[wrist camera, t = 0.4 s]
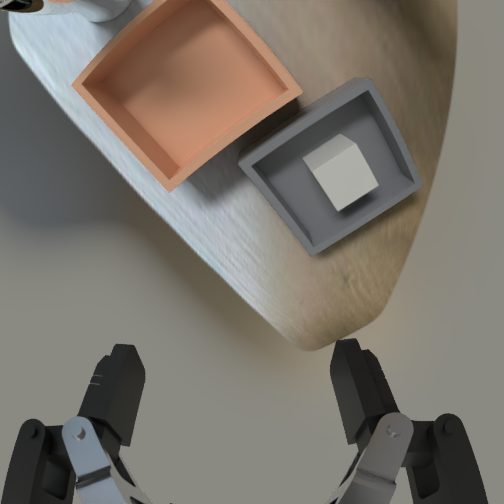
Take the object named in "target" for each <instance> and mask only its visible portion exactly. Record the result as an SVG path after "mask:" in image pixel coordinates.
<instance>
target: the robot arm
mask: <svg viewBox="0 0 504 504" xmlns="http://www.w3.org/2000/svg"><path fill="white" fill-rule="evenodd" d="M381 369H382V368H381V366H380V363H379V361H378V359H377V357H375V355H374V354H373V353H372V352H370V350H368V349H367V350H361V348H360V345H359V343H358V341H357V339H356V338H352V339H344V340H337V341H336V344H335V348H334V352H333V356H332V360H331V364H330V376H331V380H332V384H333V387H334V391H335V395H336V398H337V402H338V406H339V410H340V414H341V417H342V421H343V426H344V430H345V434H346V438H347V442H348V445H349V444H354V443H357V446H358V451H357V453H356V455H355V457H354V459H353V461H352V462H351V464H350V466H349V468H348V470H347V471H346V473H345V475H344V477H343V478H342V480H341V482H340V483H339V485H338V486H337V488H336V490H335V491H334V492H333V493H332V495H331V496H330V498H329V499H328V500H327V502H326V503H325V504H389V503H390V500H391V498H392V496H393V494H394V492H395V489H396V483H395V479H396V476H397V474H398V472H399V469H400V467H406V470H407V475H408V479H409V484H410V489H411V493H412V498H413V504H488V501H487V497H486V493H485V489H484V485H483V482H482V478H481V475H480V471H479V468H478V465H477V462H476V459H475V456H474V453H473V450H472V447H471V445H470V442H469V439H468V436H467V433H466V431H465V428H464V426H463V423H462V421H461V420H460V418H459V417H457V416H455V415H454V414H449V413H448V414H443V415H441V416H439V417H438V418H437V419H436V420H435V421H413V420H410V419H409V418H408V417H407V416H406V415H404V414H401V413H400V411H399V410H398V407H397V405H396V403H395V400H394V397H393V395H392V392H391V390H390V387H389V385H388V382H387V380H386V379H385V375H384V373H383V371H382V370H381ZM144 383H145V369H144V366H143V364H142V362H141V359H140V357H139V355H138V353H137V350H136V348H135V346H134V345H127V344H116V345H115V346H114V347H113V350H112V353H111V355H110V356H108V355H105V356H104V357H103V358H102V359H101V360H100V362H99V363H98V364H97V366H96V369H95V371H94V374H93V376H92V378H91V381H90V384H89V386H88V389H87V391H86V394H85V397H84V399H83V402H82V405H81V408H80V410H79V413H78V415H77V416H76V417H73V418H70V419H69V420H68V421H67V422H66V423H65V424H64V425H59V426H45V425H44V424H43V423H42V422H40V421H39V420H37V419H29V420H27V421H25V422H24V423H23V424H22V426H21V428H20V431H19V434H18V437H17V440H16V443H15V447H14V450H13V454H12V457H11V461H10V464H9V468H8V472H7V477H6V481H5V486H4V490H3V495H2V500H1V504H72V502H73V495H74V488H75V487H76V490H77V493H78V495H79V497H80V499H81V502H82V504H152V502H151V501H150V499H149V498H148V497H147V496H146V494H145V493H144V492H143V491H142V490H141V489H140V487H139V486H138V484H137V483H136V481H135V479H134V478H133V476H132V474H131V472H130V471H129V469H128V467H127V465H126V463H125V462H124V460H123V458H122V456H121V454H120V453H119V450H120V445H122V446H128V447H129V446H130V443H131V438H132V434H133V429H134V424H135V420H136V416H137V412H138V407H139V403H140V399H141V395H142V391H143V387H144ZM76 476H77V478H78V482H76ZM75 482H76V483H75ZM170 504H171V503H170Z"/></svg>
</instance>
